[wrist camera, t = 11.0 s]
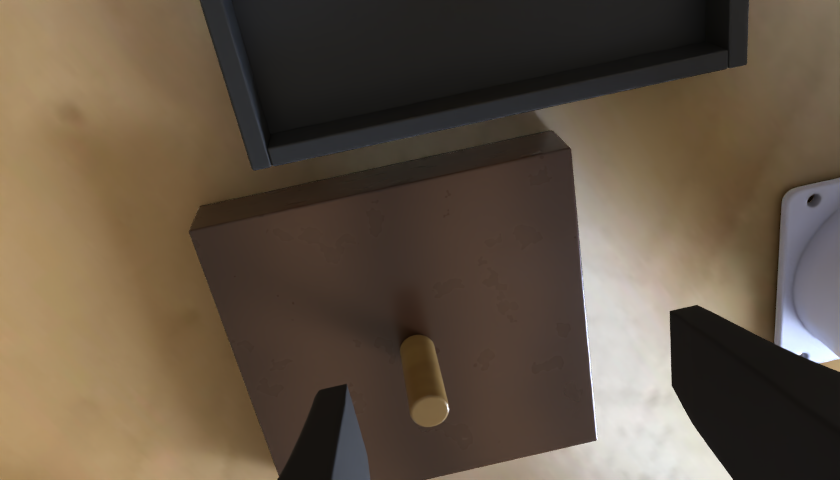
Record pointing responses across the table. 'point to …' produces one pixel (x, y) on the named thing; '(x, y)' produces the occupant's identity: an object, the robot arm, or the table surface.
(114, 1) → the table surface
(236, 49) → the tray
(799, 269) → the robot arm
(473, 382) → the platform
